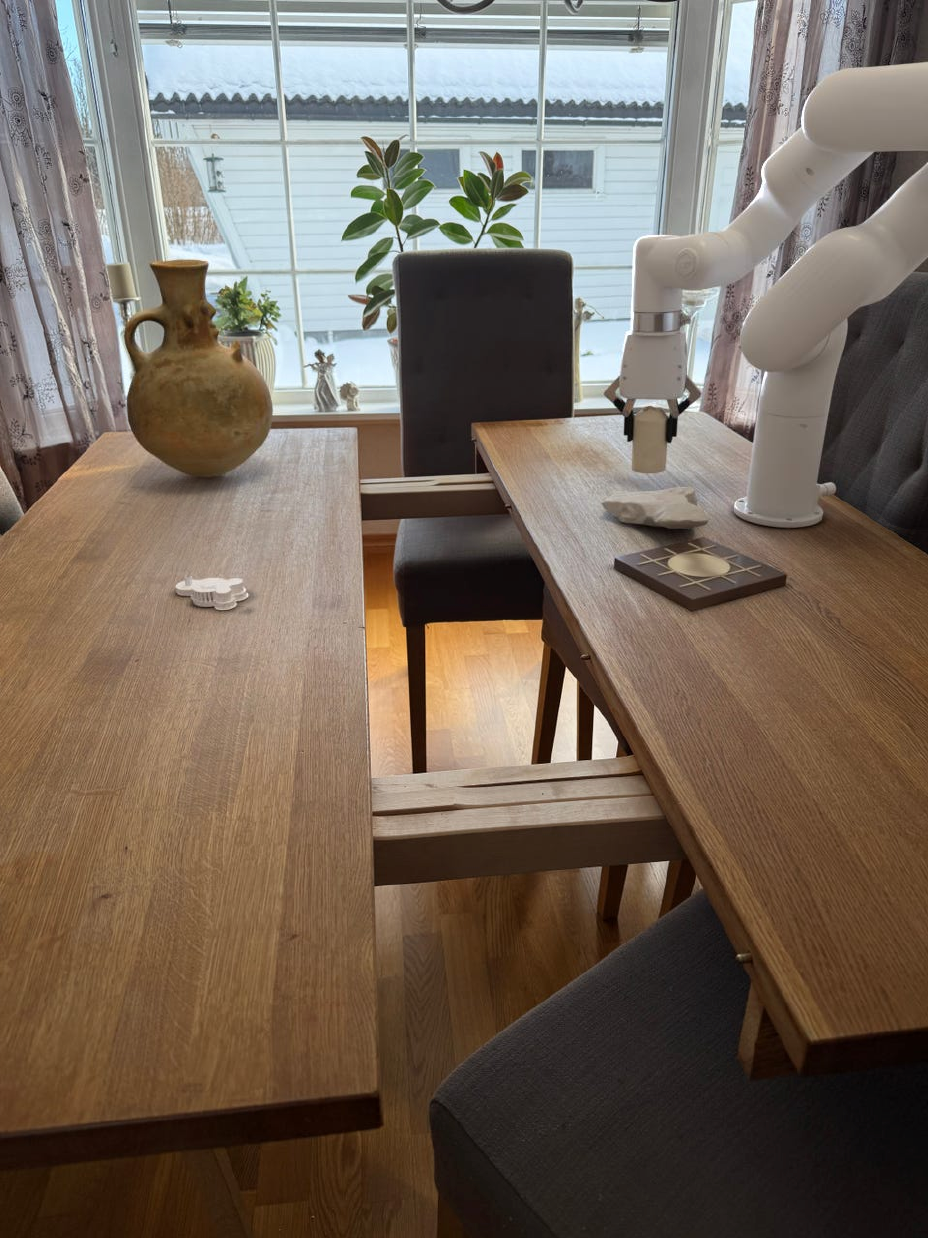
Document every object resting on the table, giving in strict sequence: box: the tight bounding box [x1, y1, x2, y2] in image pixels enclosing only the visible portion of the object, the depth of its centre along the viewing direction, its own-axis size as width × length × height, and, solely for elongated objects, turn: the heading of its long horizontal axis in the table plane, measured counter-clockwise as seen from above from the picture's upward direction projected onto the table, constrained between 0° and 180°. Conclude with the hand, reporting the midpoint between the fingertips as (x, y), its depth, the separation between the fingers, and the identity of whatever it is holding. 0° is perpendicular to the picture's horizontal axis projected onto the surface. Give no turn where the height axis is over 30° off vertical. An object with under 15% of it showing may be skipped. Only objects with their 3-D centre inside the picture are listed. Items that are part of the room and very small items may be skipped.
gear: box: [175, 574, 250, 611], centre depth 107 cm, size 9×9×2 cm
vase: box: [123, 258, 274, 478], centre depth 148 cm, size 24×24×35 cm
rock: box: [601, 486, 709, 530], centre depth 129 cm, size 21×5×15 cm
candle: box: [631, 405, 669, 474], centre depth 142 cm, size 6×6×10 cm
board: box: [613, 536, 788, 612], centre depth 111 cm, size 15×15×2 cm
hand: (649, 439), depth 143 cm, fingers closed on candle, 5 cm apart
